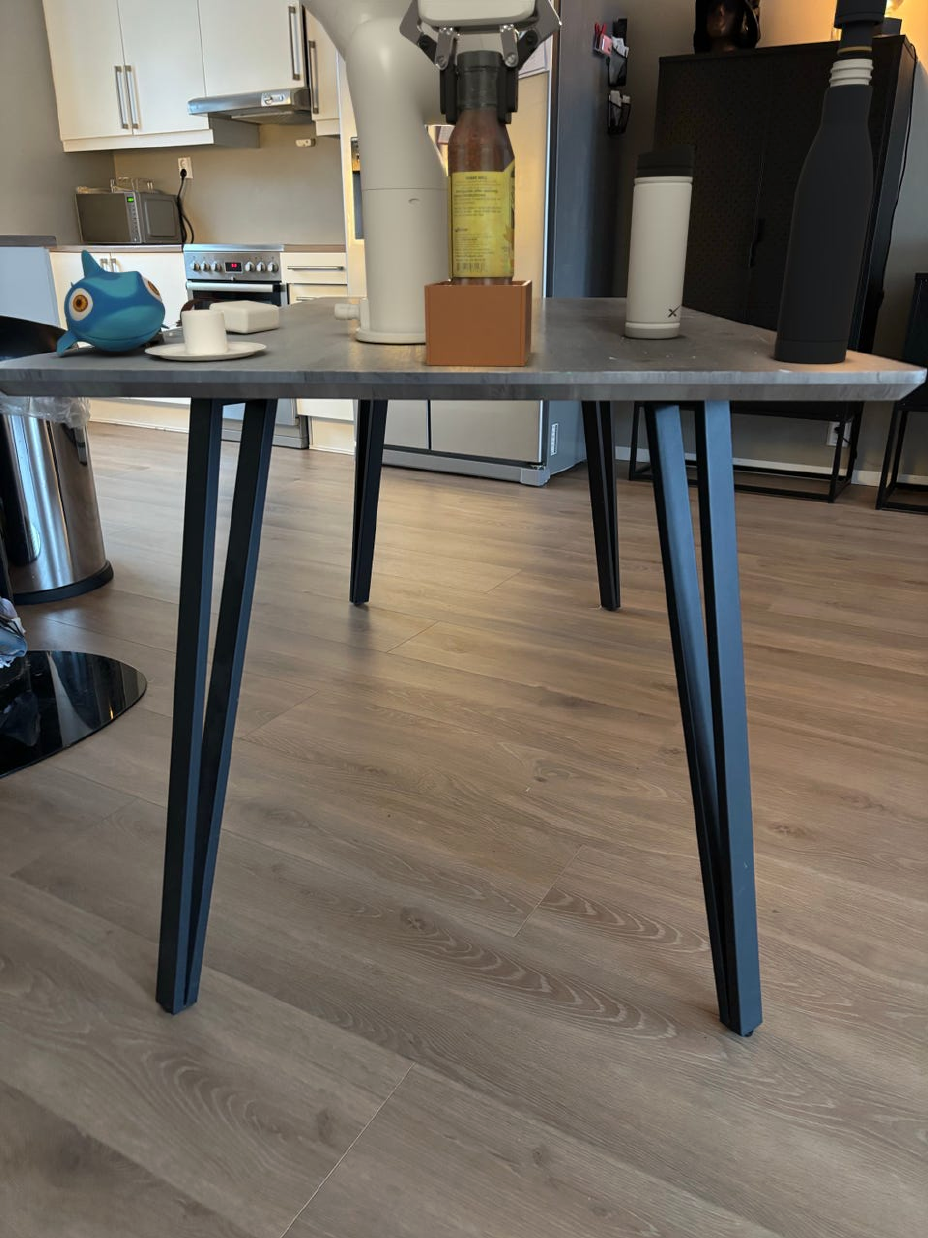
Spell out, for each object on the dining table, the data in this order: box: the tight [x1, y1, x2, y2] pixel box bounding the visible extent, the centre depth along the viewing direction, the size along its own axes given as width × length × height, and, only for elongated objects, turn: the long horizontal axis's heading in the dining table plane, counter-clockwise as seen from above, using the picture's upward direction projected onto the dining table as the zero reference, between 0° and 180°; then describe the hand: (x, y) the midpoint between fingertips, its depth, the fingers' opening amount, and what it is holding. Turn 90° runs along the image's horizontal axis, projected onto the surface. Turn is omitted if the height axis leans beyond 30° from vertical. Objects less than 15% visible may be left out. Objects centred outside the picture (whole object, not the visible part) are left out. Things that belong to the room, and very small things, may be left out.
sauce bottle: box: [446, 50, 516, 285], centre depth 79 cm, size 7×6×20 cm
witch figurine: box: [168, 319, 183, 338], centre depth 112 cm, size 5×12×2 cm, turn 176°
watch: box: [179, 296, 223, 324], centre depth 111 cm, size 8×5×4 cm
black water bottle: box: [773, 0, 888, 365], centre depth 77 cm, size 6×6×30 cm
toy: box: [56, 249, 171, 356], centre depth 91 cm, size 12×18×10 cm, turn 39°
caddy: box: [424, 279, 533, 367], centre depth 84 cm, size 9×9×7 cm
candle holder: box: [144, 309, 267, 362], centre depth 88 cm, size 12×12×4 cm
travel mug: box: [624, 142, 699, 340], centre depth 98 cm, size 6×7×20 cm
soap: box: [208, 300, 280, 334], centre depth 112 cm, size 9×6×3 cm, turn 163°
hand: (479, 120), depth 77 cm, fingers closed on sauce bottle, 4 cm apart
